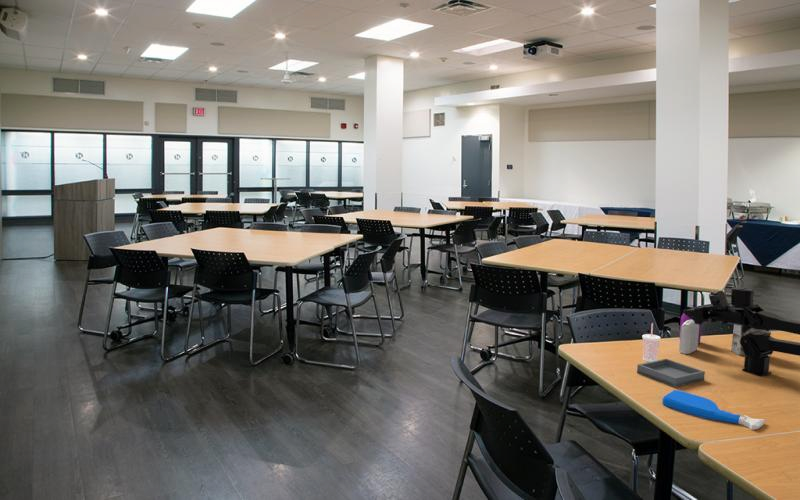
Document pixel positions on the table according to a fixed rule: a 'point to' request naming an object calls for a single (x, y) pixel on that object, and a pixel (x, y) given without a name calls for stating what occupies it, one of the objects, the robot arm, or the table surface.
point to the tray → (671, 372)
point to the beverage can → (684, 319)
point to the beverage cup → (650, 346)
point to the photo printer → (689, 337)
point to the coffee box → (737, 336)
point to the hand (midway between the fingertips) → (690, 310)
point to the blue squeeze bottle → (706, 409)
